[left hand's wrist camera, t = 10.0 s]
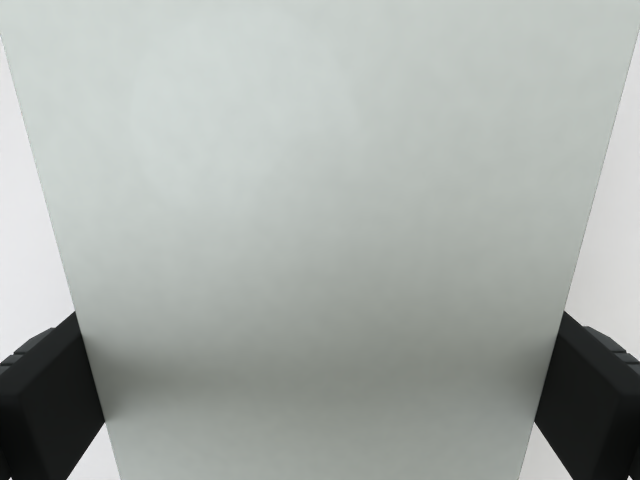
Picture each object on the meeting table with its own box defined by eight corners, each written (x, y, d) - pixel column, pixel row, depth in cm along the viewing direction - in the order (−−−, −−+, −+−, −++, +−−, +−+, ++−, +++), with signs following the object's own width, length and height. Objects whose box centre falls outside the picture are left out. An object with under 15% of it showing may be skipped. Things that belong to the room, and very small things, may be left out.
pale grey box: (136, -225, 11) (-272, -959, 3) (501, -225, 11) (904, -950, 3) (208, 339, 18) (128, 510, 11) (430, 338, 18) (511, 509, 11)
